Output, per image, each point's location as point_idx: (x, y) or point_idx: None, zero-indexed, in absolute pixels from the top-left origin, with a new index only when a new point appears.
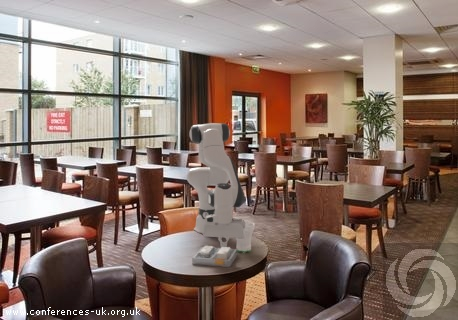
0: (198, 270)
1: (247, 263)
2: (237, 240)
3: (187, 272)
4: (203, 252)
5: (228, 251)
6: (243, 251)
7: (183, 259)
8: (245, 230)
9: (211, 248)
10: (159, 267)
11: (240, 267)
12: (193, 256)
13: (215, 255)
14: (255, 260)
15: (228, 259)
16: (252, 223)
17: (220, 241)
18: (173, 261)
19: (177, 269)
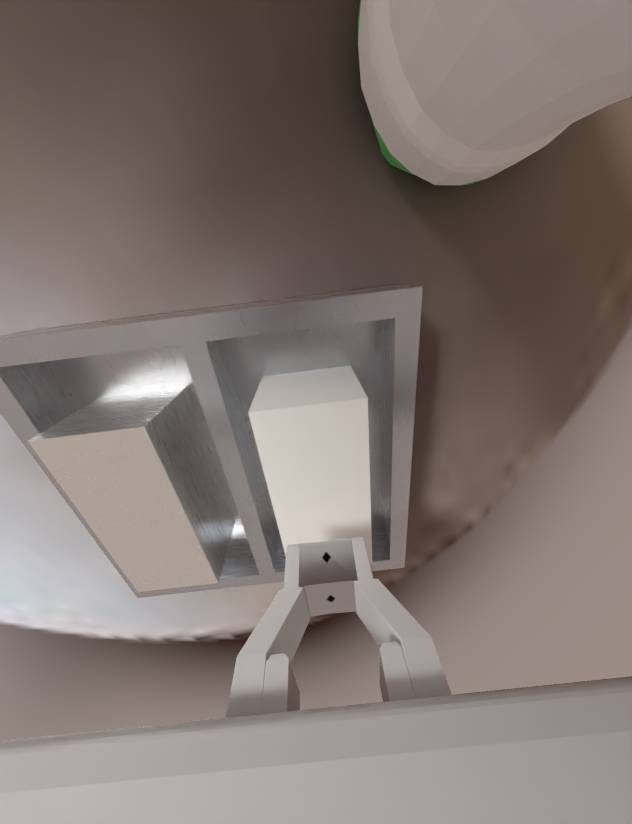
0: (247, 599)
1: (502, 446)
2: (460, 31)
3: (213, 623)
4: (174, 587)
5: (368, 489)
6: (474, 182)
7: (45, 519)
8: None
9: (169, 497)
10: (47, 624)
11: (456, 513)
12: (126, 581)
13: (257, 503)
14: (574, 369)
15: (391, 554)
16: None
17: (292, 644)
18: (24, 559)
19: (145, 616)
